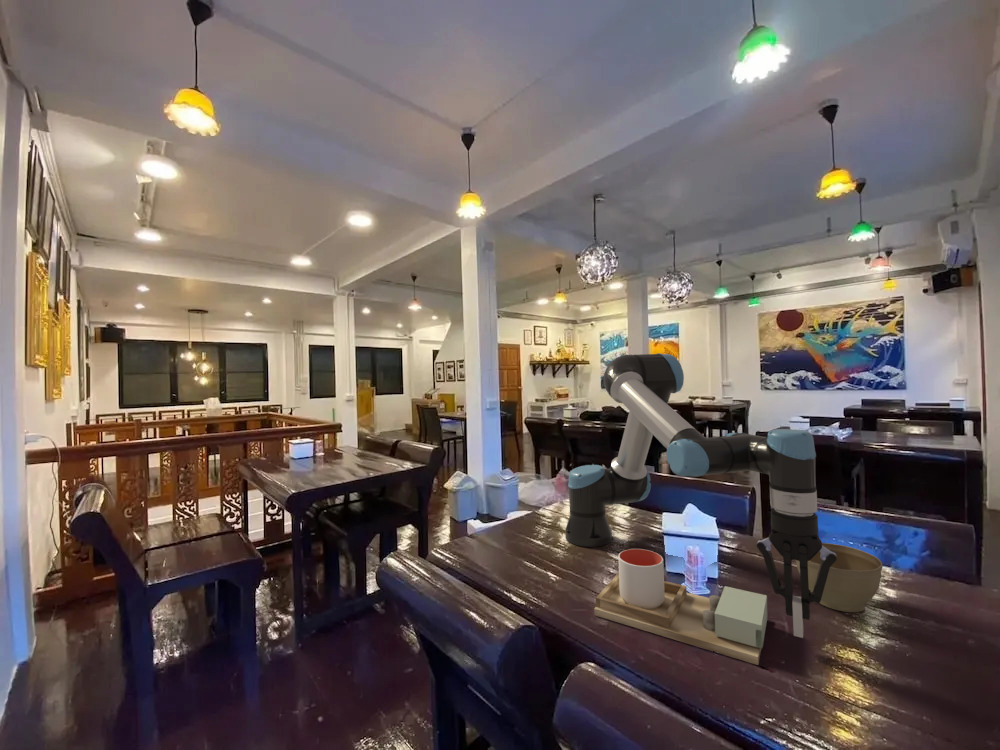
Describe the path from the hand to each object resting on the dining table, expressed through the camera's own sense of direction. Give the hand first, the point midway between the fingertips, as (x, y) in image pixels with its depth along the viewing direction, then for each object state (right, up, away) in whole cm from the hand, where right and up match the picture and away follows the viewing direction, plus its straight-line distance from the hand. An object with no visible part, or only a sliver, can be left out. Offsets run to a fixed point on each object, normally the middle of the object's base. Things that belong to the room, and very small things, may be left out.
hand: (798, 633), depth 84 cm
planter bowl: (+20, -3, +16) cm, 26 cm away
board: (-18, -4, +13) cm, 22 cm away
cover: (-8, -2, +6) cm, 10 cm away
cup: (-24, -3, +18) cm, 30 cm away
